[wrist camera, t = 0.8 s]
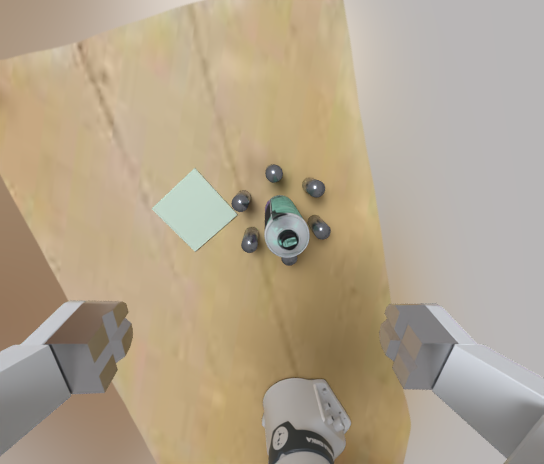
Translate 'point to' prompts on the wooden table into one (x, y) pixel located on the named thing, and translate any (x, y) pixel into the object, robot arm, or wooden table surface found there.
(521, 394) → the robot arm
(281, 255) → the spray can
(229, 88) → the wooden table surface
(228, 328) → the wooden table surface
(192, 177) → the mat
